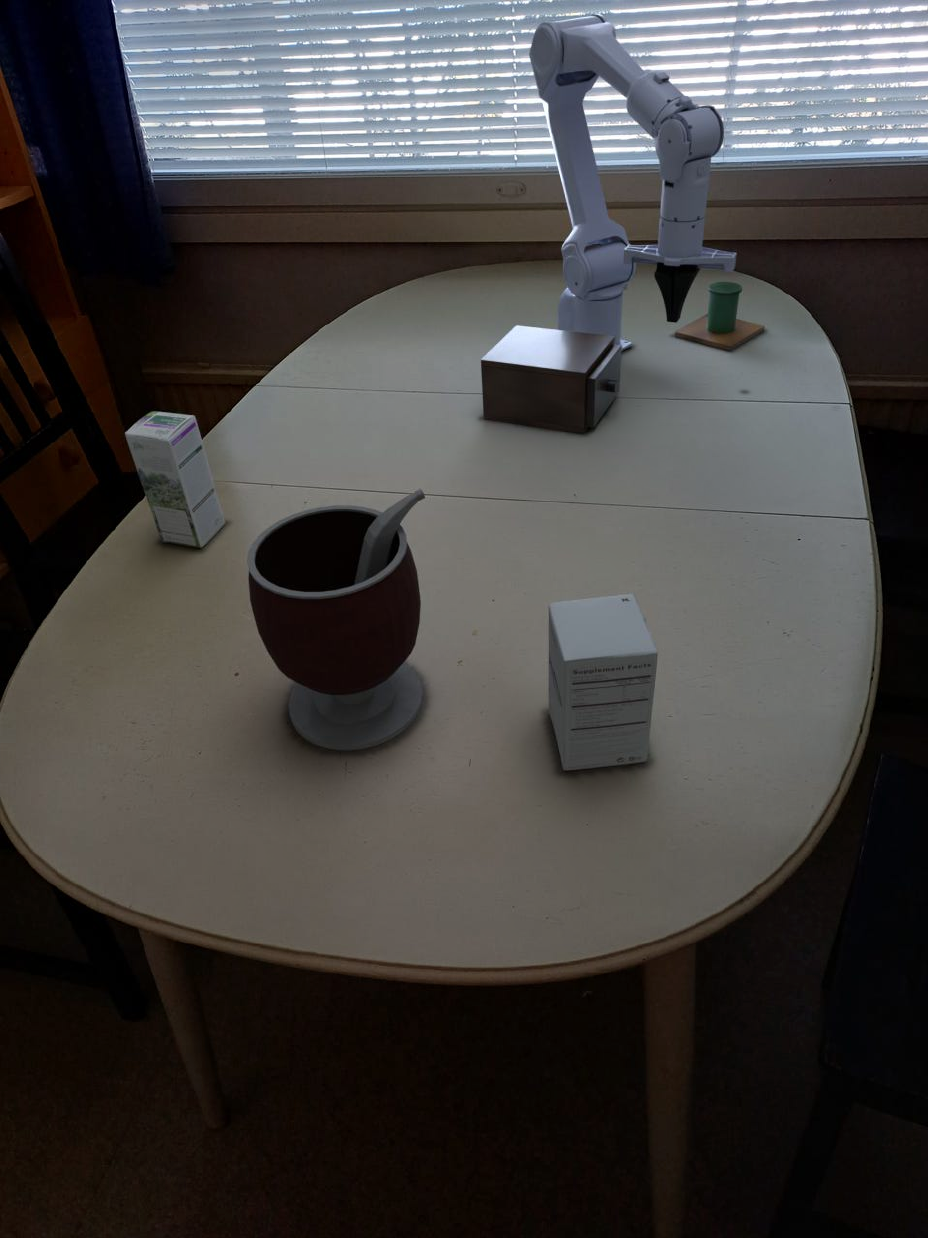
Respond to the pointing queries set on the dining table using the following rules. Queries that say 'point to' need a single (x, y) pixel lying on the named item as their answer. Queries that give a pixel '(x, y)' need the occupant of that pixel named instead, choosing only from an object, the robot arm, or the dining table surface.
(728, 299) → the green pot
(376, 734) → the mate gourd
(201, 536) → the syrup box
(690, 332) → the board
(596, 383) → the drawer
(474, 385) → the dining table surface
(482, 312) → the dining table surface
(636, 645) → the white packaging box
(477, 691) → the dining table surface
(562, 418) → the small wooden cabinet
